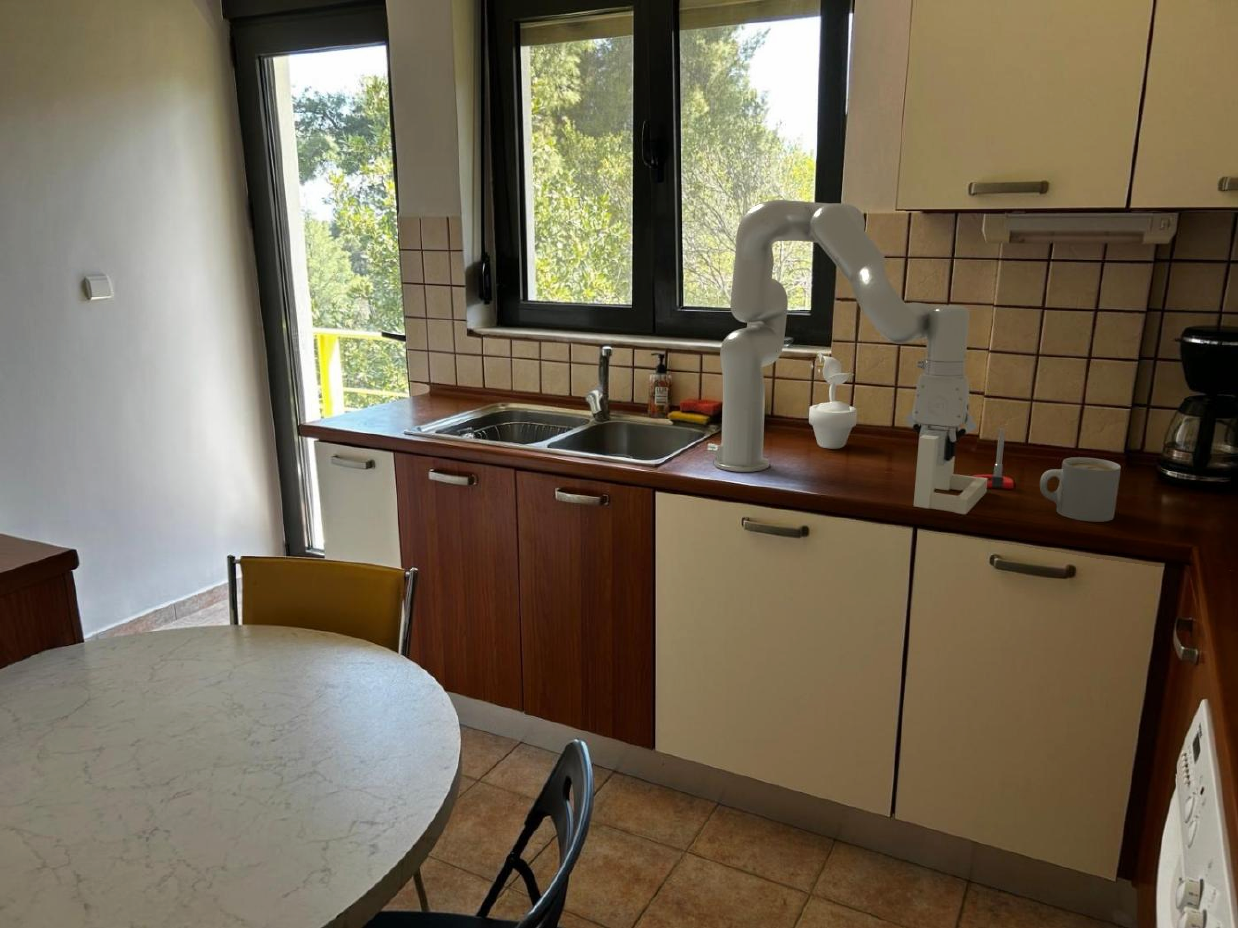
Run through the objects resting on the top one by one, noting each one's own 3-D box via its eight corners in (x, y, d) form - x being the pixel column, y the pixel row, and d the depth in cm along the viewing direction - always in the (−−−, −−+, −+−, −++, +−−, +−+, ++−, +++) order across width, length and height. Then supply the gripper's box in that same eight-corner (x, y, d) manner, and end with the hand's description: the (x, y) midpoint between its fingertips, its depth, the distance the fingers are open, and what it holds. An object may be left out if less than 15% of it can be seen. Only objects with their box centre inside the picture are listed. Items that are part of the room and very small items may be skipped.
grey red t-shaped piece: (967, 478, 204) (976, 488, 195) (972, 421, 201) (982, 428, 192) (1006, 480, 202) (1018, 490, 193) (1012, 422, 200) (1024, 430, 191)
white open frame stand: (913, 506, 182) (919, 437, 179) (937, 484, 197) (943, 421, 193) (965, 514, 177) (972, 444, 174) (986, 492, 192) (993, 426, 188)
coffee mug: (1115, 510, 179) (1122, 461, 177) (1112, 524, 171) (1119, 473, 168) (1040, 500, 186) (1046, 452, 183) (1034, 513, 178) (1040, 463, 175)
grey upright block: (922, 463, 185) (925, 429, 183) (931, 456, 191) (934, 423, 189) (942, 466, 183) (945, 431, 181) (951, 458, 189) (954, 425, 187)
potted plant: (799, 442, 235) (804, 345, 229) (841, 439, 238) (847, 343, 231) (821, 454, 223) (827, 351, 217) (865, 451, 226) (872, 350, 220)
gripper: (896, 368, 184) (890, 456, 188) (984, 374, 175) (976, 467, 179) (907, 363, 190) (901, 449, 194) (993, 369, 181) (984, 459, 185)
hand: (937, 457), depth 187 cm, fingers closed on grey upright block, 4 cm apart
